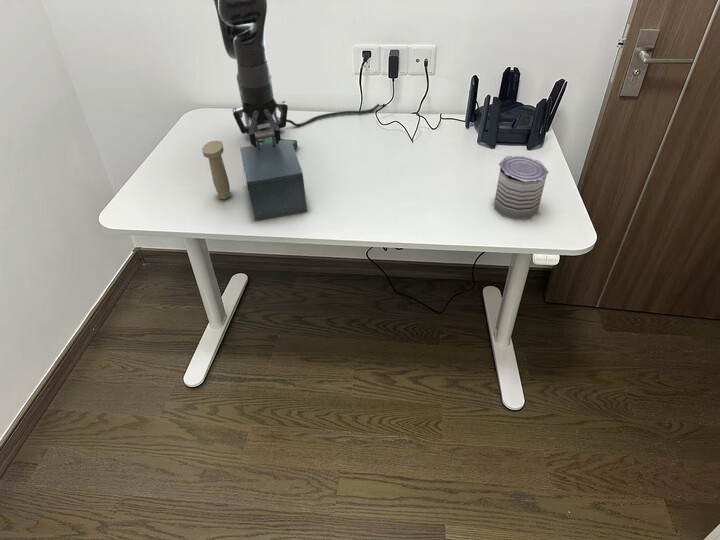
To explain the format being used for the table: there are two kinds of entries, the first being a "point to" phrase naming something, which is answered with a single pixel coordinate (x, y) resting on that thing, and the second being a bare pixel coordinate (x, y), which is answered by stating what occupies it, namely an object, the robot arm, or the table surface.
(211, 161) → the handle
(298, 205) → the bin
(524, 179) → the can
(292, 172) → the bin lid
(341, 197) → the table surface
